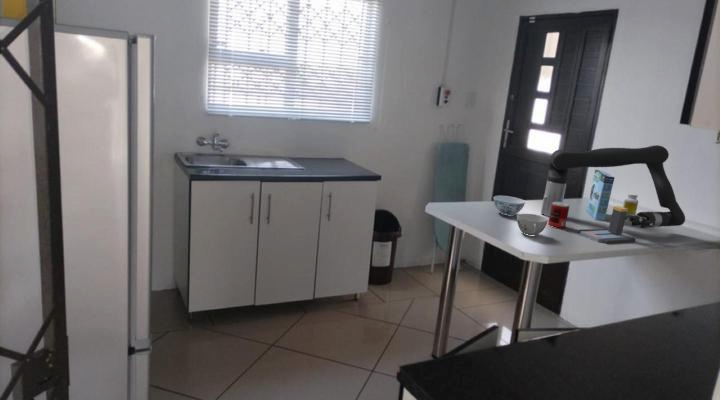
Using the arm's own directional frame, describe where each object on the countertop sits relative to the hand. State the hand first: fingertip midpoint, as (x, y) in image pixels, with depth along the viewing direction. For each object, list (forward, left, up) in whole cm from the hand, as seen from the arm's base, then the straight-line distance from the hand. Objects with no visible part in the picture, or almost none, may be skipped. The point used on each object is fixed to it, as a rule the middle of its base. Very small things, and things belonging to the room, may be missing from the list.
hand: (624, 220), depth 234 cm
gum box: (-7, +37, -8) cm, 39 cm away
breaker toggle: (-3, -3, -6) cm, 7 cm away
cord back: (-11, -1, -8) cm, 14 cm away
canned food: (-28, -1, -8) cm, 29 cm away
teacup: (-40, -26, -8) cm, 48 cm away
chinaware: (-51, +6, -8) cm, 52 cm away
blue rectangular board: (-7, -6, -8) cm, 12 cm away
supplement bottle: (+10, +46, -8) cm, 48 cm away
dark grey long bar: (-2, -11, -8) cm, 14 cm away
